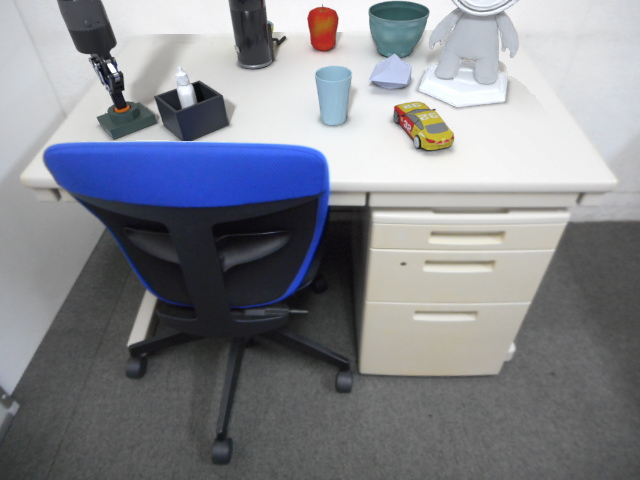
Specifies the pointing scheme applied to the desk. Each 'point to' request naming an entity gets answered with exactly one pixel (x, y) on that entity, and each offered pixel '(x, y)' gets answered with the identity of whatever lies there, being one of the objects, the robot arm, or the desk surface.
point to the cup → (333, 93)
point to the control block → (126, 120)
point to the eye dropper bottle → (185, 89)
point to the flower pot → (397, 26)
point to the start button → (122, 109)
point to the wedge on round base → (391, 73)
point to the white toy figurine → (471, 54)
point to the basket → (193, 112)
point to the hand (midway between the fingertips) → (121, 107)
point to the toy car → (423, 125)
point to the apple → (323, 27)
